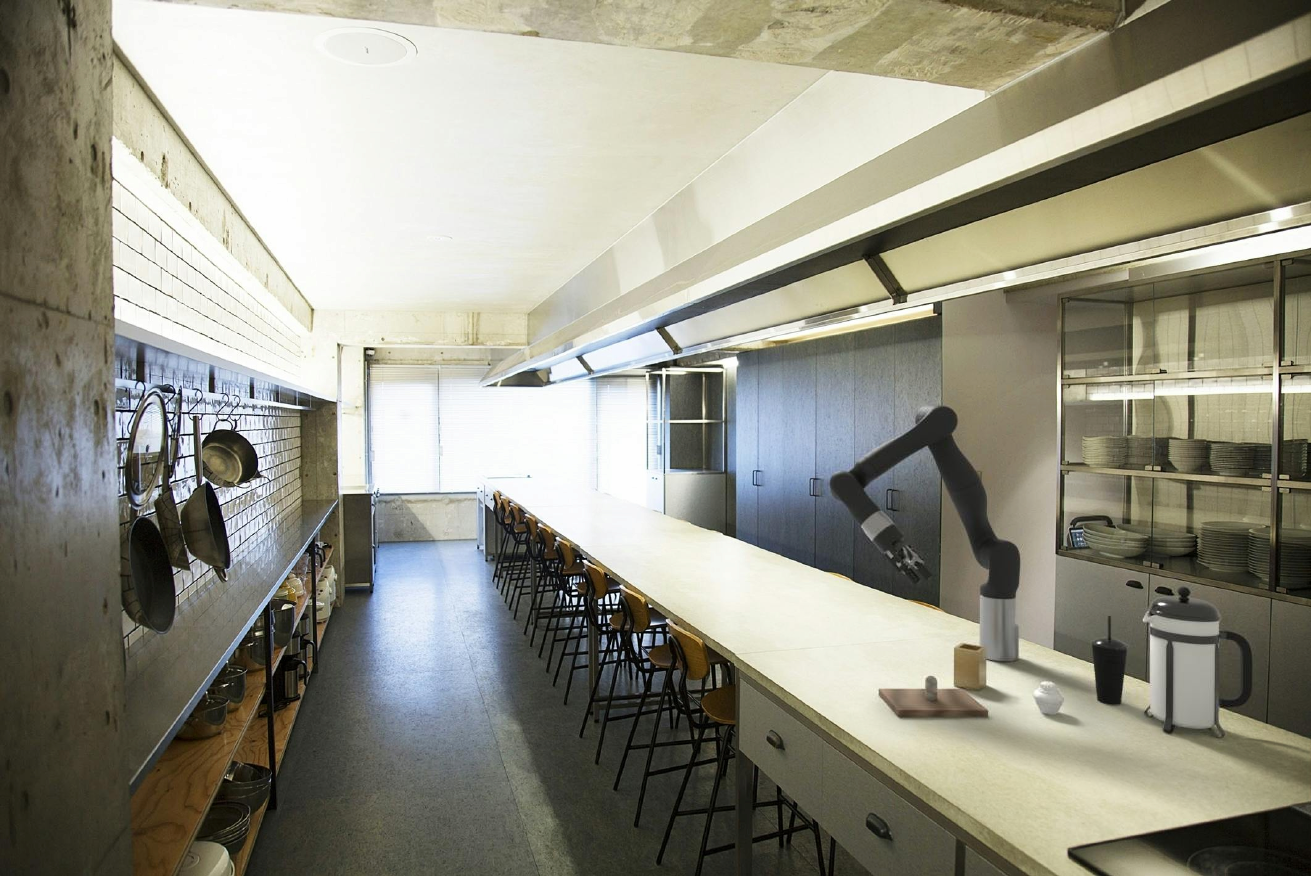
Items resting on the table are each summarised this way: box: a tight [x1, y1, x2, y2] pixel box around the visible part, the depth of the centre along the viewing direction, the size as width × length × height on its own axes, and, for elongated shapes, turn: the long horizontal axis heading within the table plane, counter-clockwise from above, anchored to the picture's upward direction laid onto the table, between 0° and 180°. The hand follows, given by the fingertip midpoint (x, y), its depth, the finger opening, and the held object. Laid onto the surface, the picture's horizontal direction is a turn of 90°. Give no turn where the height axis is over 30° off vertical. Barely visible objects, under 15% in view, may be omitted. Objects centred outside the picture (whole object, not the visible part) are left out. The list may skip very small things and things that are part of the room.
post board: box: [878, 675, 989, 718], centre depth 172 cm, size 20×14×7 cm
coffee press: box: [1142, 586, 1253, 739], centre depth 160 cm, size 17×16×30 cm
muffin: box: [1032, 680, 1065, 716], centre depth 168 cm, size 6×6×7 cm
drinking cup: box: [1090, 615, 1130, 706], centre depth 175 cm, size 8×8×20 cm
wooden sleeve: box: [953, 642, 987, 692], centre depth 186 cm, size 6×6×10 cm
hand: (924, 580), depth 193 cm, fingers open, 8 cm apart
